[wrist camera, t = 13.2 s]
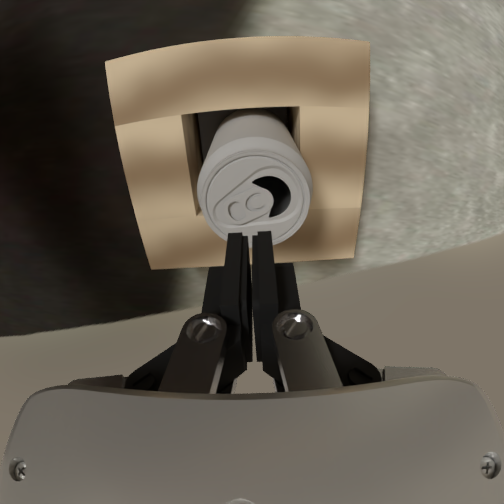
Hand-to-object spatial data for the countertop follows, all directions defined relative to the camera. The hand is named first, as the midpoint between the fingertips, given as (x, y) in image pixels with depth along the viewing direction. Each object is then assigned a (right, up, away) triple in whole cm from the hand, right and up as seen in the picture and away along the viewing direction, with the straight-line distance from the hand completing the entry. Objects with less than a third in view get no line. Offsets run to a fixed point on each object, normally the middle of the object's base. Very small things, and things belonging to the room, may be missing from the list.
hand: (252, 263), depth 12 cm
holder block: (-1, +11, +15) cm, 18 cm away
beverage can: (0, +10, +13) cm, 17 cm away
